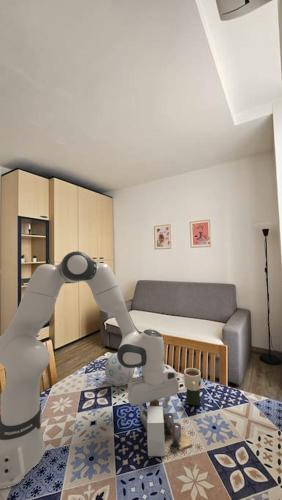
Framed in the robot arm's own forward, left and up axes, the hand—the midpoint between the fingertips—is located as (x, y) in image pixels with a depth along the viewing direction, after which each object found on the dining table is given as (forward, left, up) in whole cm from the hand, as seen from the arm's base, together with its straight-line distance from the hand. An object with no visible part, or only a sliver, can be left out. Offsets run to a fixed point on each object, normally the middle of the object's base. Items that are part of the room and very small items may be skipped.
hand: (154, 410), depth 82 cm
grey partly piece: (0, 0, -5) cm, 5 cm away
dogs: (+5, -9, -5) cm, 11 cm away
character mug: (+20, +4, -5) cm, 21 cm away
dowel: (0, 0, -4) cm, 4 cm away
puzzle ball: (-6, +30, -5) cm, 31 cm away
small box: (-3, -9, -5) cm, 11 cm away
